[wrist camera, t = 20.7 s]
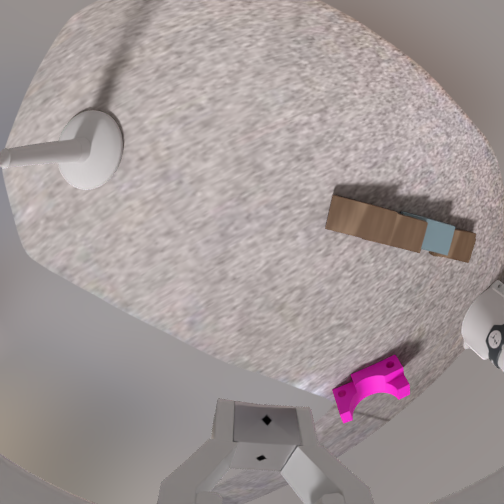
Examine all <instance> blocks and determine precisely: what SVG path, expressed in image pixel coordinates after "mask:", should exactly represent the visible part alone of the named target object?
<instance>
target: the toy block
mask: <svg viewBox="0 0 504 504" xmlns="http://www.w3.org/2000/svg"><path fill="white" fill-rule="evenodd" d="M351 378H352V381H353V382H350V383H348V384H345V385H343V386H340V387H338V388H335V389H333V394H334V397H335V400H336V403H337V407H338V410H339V413H340V416H341V418H342V421H343V423H346V422H348V421H351V420H353V411H354V409H355V407H356V406H357V404H358V403H359V402H360V401H361V400H362V399H364V398H365V397H367V396H369V395H371V394H374V393H380V392H384V393H390V394H392V395H394V396H395V397H397V398H398V400H399V399H401V398H403V397H405V396H407V395H409V394H410V385H409V383H408V381H407V379H406V377H405V376H404V371H403V366H402V365H401V363H400V361H399V360H398V358H397V357H396V355H393V356H391V357H389V358H387V359H384V360H382V361H380V362H378V363H376V364H374V365H371V366H369V367H367V368H365V369H362V370H360V371H358V372H355V373H353V374H351Z"/></svg>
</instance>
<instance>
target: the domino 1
mask: <svg viewBox="0 0 504 504" xmlns="http://www.w3.org/2000/svg"><path fill="white" fill-rule="evenodd" d="M397 214H398V213H397V212H396V211H393V210H390V209H386V208H383V207H379V206H376V205H372V204H368V203H365V202H361V201H357V200H353V199H349V198H345V197H341V196H337V195H332V200H331V204H330V209H329V213H328V218H327V222H326V226H325V229H328V230H332V231H336V232H340V233H344V234H348V235H352V236H356V237H360V238H364V239H368V240H372V241H375V242H379V243H383V244H387V245H389V243H390V240H391V236H392V233H393V229H394V225H395V222H396V218H397Z"/></svg>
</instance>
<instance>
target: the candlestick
mask: <svg viewBox="0 0 504 504" xmlns="http://www.w3.org/2000/svg"><path fill="white" fill-rule="evenodd" d="M122 152H123V139H122V134H121V131H120V128H119V126H118V124H117V123H116V121H115V120H114V119H113V118H112V117H111V116H110V115H108V114H106V113H104V112H101V111H97V110H89V111H85V112H82V113H80V114H78V115H76V116H75V117H73V118H72V119H71V120H70V121H69V122H68V123H67V125H66V126H65V128H64V129H63V131H62V133H61V135H60V138H59V141H54V142H46V143H39V144H33V145H27V146H21V147H15V148H10V149H6V148H5V149H3V150H2V151H1V152H0V167H2V168H4V169H5V168H7V167H16V166H26V165H38V164H51V163H58V166H59V169H60V172H61V174H62V176H63V177H64V178H65V180H66V181H67V182H68V183H69V184H71V185H72V186H74V187H76V188H78V189H83V190H90V189H94V188H97V187H100V186H102V185H103V184H105V183H106V182H107V181H108V180H109V179H110V178H111V177H112V176H113V175H114V173H115V172H116V170H117V168H118V166H119V164H120V161H121V157H122Z"/></svg>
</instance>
